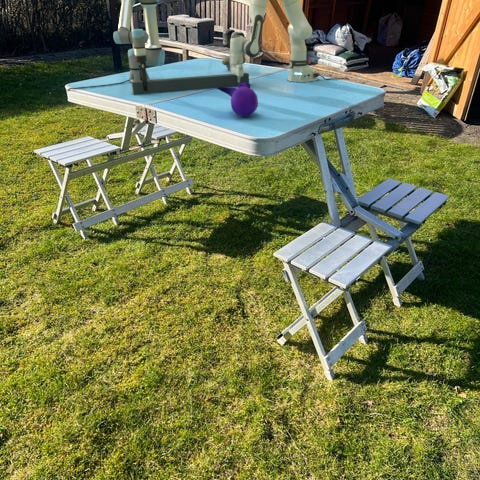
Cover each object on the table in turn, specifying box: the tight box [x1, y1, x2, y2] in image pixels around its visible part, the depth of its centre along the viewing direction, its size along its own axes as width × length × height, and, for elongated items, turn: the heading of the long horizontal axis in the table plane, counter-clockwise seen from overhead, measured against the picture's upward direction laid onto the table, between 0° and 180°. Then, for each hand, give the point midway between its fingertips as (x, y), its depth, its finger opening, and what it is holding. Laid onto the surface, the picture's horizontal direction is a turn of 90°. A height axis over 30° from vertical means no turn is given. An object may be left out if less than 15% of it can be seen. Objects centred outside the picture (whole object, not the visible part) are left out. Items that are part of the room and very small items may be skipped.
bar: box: [130, 72, 250, 95], centre depth 310 cm, size 81×6×8 cm, turn 107°
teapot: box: [221, 53, 246, 72], centre depth 367 cm, size 21×12×15 cm, turn 120°
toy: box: [216, 82, 259, 118], centre depth 249 cm, size 16×18×27 cm
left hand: (144, 89), depth 303 cm, fingers open, 13 cm apart
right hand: (237, 81), depth 319 cm, fingers closed on bar, 5 cm apart
